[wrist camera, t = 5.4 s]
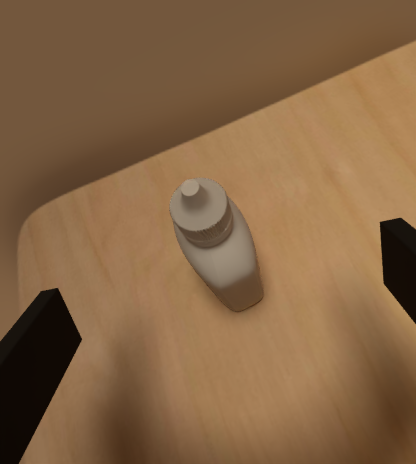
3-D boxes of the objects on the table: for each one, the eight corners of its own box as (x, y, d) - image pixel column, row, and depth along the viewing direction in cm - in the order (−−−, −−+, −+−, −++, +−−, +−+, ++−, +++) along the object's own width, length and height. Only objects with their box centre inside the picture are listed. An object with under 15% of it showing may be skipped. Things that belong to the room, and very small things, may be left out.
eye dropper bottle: (264, 230, 25) (251, 119, 14) (263, 313, 23) (247, 261, 12) (201, 231, 26) (142, 126, 15) (196, 311, 24) (123, 260, 13)
